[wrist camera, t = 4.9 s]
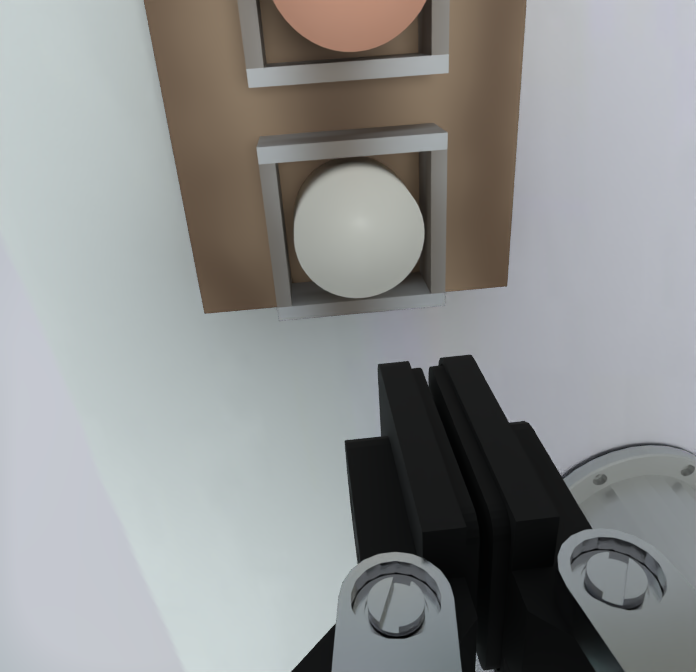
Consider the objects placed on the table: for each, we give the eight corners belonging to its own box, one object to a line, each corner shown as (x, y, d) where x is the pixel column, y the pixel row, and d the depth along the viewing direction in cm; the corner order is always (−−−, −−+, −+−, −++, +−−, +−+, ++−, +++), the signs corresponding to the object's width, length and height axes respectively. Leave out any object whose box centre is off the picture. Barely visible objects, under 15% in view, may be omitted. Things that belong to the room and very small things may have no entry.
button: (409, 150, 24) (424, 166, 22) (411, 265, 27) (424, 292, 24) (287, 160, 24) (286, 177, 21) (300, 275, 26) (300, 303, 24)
